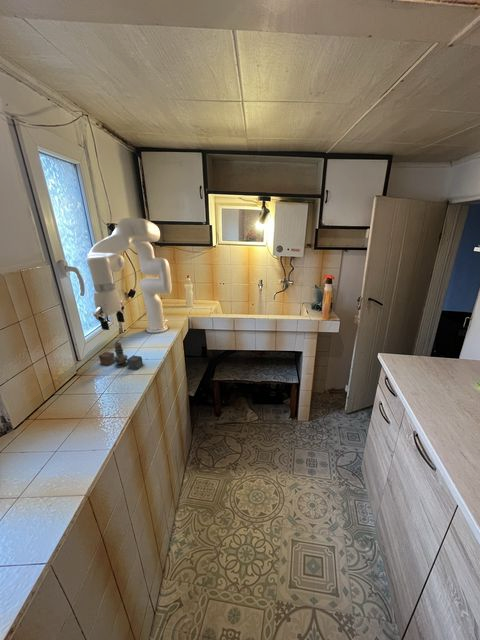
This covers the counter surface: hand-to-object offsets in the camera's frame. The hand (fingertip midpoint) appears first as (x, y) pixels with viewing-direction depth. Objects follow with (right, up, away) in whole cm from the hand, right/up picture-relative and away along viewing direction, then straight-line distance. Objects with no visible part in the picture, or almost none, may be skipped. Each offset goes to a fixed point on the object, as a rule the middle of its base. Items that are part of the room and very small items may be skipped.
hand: (113, 325), depth 124 cm
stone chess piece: (0, -18, +8) cm, 20 cm away
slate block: (+7, -19, +6) cm, 21 cm away
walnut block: (-8, -17, +9) cm, 21 cm away
